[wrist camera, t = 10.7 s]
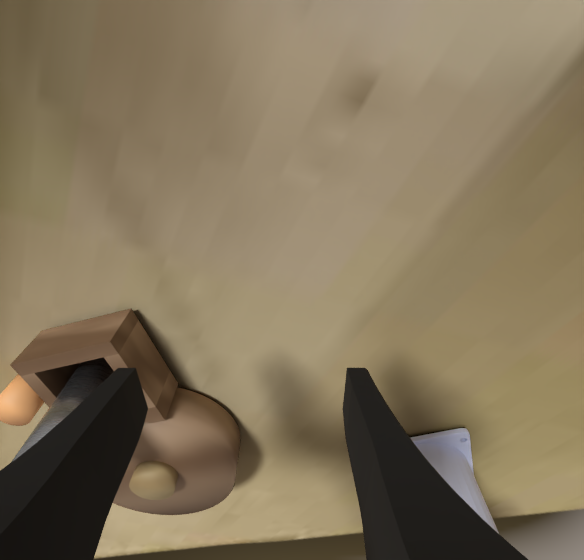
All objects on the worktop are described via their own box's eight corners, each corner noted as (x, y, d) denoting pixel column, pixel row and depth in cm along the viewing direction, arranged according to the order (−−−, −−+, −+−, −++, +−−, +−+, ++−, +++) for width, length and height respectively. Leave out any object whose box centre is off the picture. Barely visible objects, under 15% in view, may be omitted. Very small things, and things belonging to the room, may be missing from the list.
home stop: (64, 385, 26) (39, 421, 23) (36, 392, 26) (8, 428, 24) (43, 361, 25) (14, 396, 22) (13, 369, 25) (-19, 404, 23)
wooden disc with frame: (259, 465, 30) (255, 517, 27) (138, 485, 32) (120, 537, 28) (167, 299, 22) (144, 344, 18) (9, 338, 23) (-41, 387, 20)
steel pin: (139, 372, 24) (78, 496, 17) (109, 391, 25) (40, 516, 18) (102, 344, 23) (21, 466, 16) (72, 365, 24) (-17, 488, 17)
